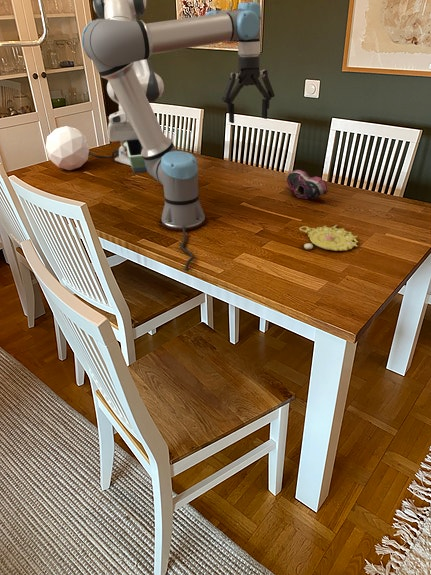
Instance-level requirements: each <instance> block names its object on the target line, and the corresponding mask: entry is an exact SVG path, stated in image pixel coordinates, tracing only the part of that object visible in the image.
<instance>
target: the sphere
mask: <svg viewBox="0 0 431 575" xmlns="http://www.w3.org/2000/svg"><path fill="white" fill-rule="evenodd" d="M44 148H45V152H46V154H47V158H48V160H49V161H51V162H52V163H53V164H54V165H55V167H57V168H60V169H63V170H66V171H72V170H75V169H79V168H81V167H82V166H83V165H84V164H85V163H87V161H88V160H89V155H90V154H89V152H90V147H89V142H88V139H87V137H86V136H85V135H84V133H82V132H81V131H80V130H79V129H78V128H74V127H72V126H67V125H65V126H61V127H57V128H54V129H53V131H52V132H50V133H49V135H47V136H46V141H45V146H44Z"/></svg>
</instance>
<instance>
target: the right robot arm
mask: <svg viewBox="0 0 431 575" xmlns="http://www.w3.org/2000/svg"><path fill="white" fill-rule="evenodd" d="M261 30H262V8H261V3H259V2H257V1H255V2H251V1H250V2H239V3H238V4H237V9H234V10H233V9H232V10H231V9H229V10H228V9H227V10H226V9H224V10H216V9H215V10H210V11H207V12H206V13H205V15H199V16H192V17H185V18H178V19H171V20H170V19H169V20H163V21H155V22H148V23H145V22H144V20H142V19H140V20H138V19H137V20H136V21H119V20H112V19H102V18H99V17H98V18H96V19H93V20H91V21H90V22H88V24H86V25H85V27H84V28H83V30H82V33H81V45H82V48H83V51H84V53H85V55H86V56H87V57H88V58H89V59H90V60H91V61H92V63H93V65H94V66H95V69H96V71H97V72H98V74H99V76H100V78H102V79H105V80H107V82H108V81H109V83H110V85H111V87H112V89H113V91H114V93H115V95H116V97H117V98H118V100H119V102H120V104H121V106H122V108H123V110H124V112H125V114H126V116H127V118H128V120H129V122H130V124H131V126H132V128H133V130H134V132H135V134H136V136H137V137H138V139H139V141H140V143H141V145H142V147H143V149H142V152H141V155H142V157H143V159H144V161H145V166H146V169H147V173H148V175H150V176H151V177H152V178H153V179H155V180H156V181H157V182H158V183H160V184H161V185H162V186H163V194H164V204H163V209H162V213H161V219H160V220H161V225H162V227H163V228H165V229H167V230H170V231H175V232H176V231H177V232H182V237H183V240H182V242H181V244H180V249H181V251H182V252H184V253H185V254H187V255H189V256H190V258H188V260H187V261H186V263H185V266H184V271H185V272H188V271H189V265H190V263H191V262H192V261H193V260H194V258H195V255H194V254H193V252H191V251H189V250H187V249H186V248H185V247H184V246H185V244H186V242H187V235H186V234H187V233H186V232H187V231H192V230H195V229H198V228H201V227H202V226H203V225H204V224H205V223H206V215H205V212H204V210H203V208H202V204H201V202H200V196H199V173H198V170H199V166H198V162H197V158H196V157H195V155H194V154H192V153H190V152H188V151H184V150H177V149H176V146H175V144H174V143H173V140H172V138H170V137H167V136H166V135H165V134H164V131H163V129H162V127H161V124H160V123H159V120H158V118H157V119H156V117H157V115H156V114H155V112H154V110H153V108H152V106H151V103H149V101H148V99H147V97H146V95H145V93H144V91H143V89H142V86H141V84H140V82H139V80H138V78H137V76H136V74H135V72H134V69H133V64H134V62H136V61H140V60H145V59H149V57H150V58H151V56H152V55H156V54H162V53H167V52H173V51H179V50H185V49H191V48H197V47H202V46H209V45H215V44H220V43H225V42H234V41H237V54H238V57H237V70H238V71H237V72H232V71H231V72H229V77H228V78H229V79H228V81H227V83H226V84H227V85H226V87H225V89H224V92H223V94H222V97H221V102H223V103H225V104H226V113H227V114H228V122H229V123H230V124H234V123H235V103H233V102H234V101H235V99H236V97H238V95H239V93H240V92H241V90H242V89H243V88H244V87H245V86H246V87H247V86H255V87H256V89H257V90H258V91H259V93H260V94H261V95H262V97H263V98H262V99H261V102H262V103H261V118H262V119H264V120H268V109H270V100H272V98H274V97H275V96H276V95H275V92H274V90H273V87H272V84H271V81H270V78H269V75H268V74H269V72H268V70H267V69H261V70H260V67H261V64H260V63H261V56H259V55H260V54H261ZM260 77H261V79H262V82H263V84H264V86H263V84H262V82H261V81H260V79H259V78H260ZM237 79H238V81H237V82H236V80H237ZM235 83H236V85H235ZM157 120H158V121H157Z"/></svg>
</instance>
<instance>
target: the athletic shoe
mask: <svg viewBox="0 0 431 575" xmlns="http://www.w3.org/2000/svg"><path fill="white" fill-rule="evenodd" d="M286 184H287V186H288V187H285V186H284V189H286V190H290V191H291V193H292V194H293V195H295V196H296V198H298V199H300V200H306V201H310V200H313V199H316V198H318V197H321V196H324V195H328V185H327V183H326V181H325V180H324V179H323V178H322V177H320V176H312V177H311V176H309V174H308V172H306V171H305V170H302V169H294V170H293V171H291V172H290V173H289V174H288V175H287V177H286Z"/></svg>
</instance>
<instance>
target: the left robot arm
mask: <svg viewBox="0 0 431 575" xmlns="http://www.w3.org/2000/svg"><path fill="white" fill-rule="evenodd" d="M92 6H93V10H94V13H95V14H96V16H97V17H98V19H99V18H102V19H112V20H119V21H138V20H141V17H142V16H143V15H144V14H145V12H146V10H147V0H92ZM133 69H134V72H135V74H136V76H137V78H138V80H139V82H140V84H141V86H142V89H143V91H144V93H145V95H146V97H147V99H148V101H149V104H153V103H155V102H156V101H157V100H158V99H159V98H161V97H162V95H163V93H164V91H165V84H164V81H163V79H162V77H161V76H160V75H159V74H157V73H156V72H155V71H154V68H153V64H152V61H151V56H150V57H149V59H145V60H140V61H136V62H134V64H133ZM106 91H107V95H108V96H109V98H110V99H111V100H112V101H113V102H115V103H116V104H117V105H118V111H116V112H113V113H111V114H109V116H108V121H109V122H108V124H107V136H108V140H109V141H110V142H111V143H113V142H119V144H120V146H119V147H118V148H116V149H114V150H113V151H112V152H111V155H110V156H107V155H100V154H96V153H93V152H90V151H89V155H91V156H94V157H97V158H103V159H108V158H109V159H111V158H114V161H115V162H118V163H120V164H124V165H127V166H130V167H131V164H130V160H129V156H128V152H127V147H126V140H138V137H137V136H136V134H135V132H134V130H133V128H132V126H131V124H130V122H129V120H128V118H127V116H126V114H125V112H124V110H123V108H122V106H121V104H120V102H119V100H118V98H117V97H116V95H115V93H114V91H113V89H112V87H111V85H110V83H109V81H108V80H107V84H106ZM156 119H157V121H158V122H159V120H158V117H157V116H156ZM114 156H116V157H114Z"/></svg>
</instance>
